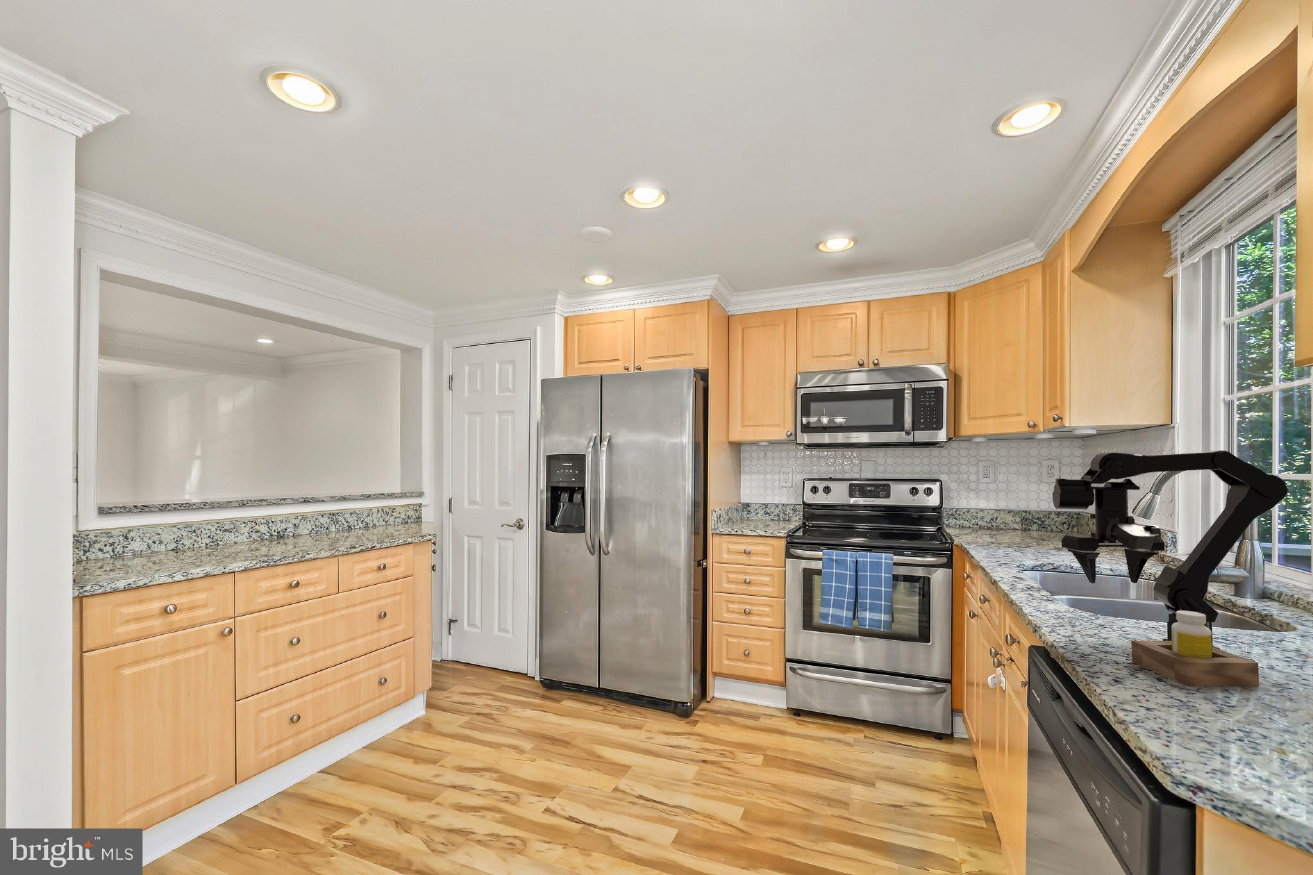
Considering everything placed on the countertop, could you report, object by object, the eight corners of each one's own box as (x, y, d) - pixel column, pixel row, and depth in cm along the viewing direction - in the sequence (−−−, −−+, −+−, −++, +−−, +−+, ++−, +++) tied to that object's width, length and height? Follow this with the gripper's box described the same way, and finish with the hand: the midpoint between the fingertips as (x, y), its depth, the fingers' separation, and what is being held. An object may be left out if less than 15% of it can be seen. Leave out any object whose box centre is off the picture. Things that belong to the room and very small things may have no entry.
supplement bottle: (1221, 674, 103) (1219, 617, 103) (1185, 672, 104) (1183, 616, 104) (1199, 663, 108) (1197, 610, 108) (1165, 661, 109) (1163, 608, 110)
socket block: (1195, 662, 112) (1194, 640, 112) (1259, 686, 100) (1258, 662, 100) (1132, 661, 112) (1131, 640, 112) (1187, 686, 100) (1187, 662, 100)
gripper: (1098, 514, 118) (1100, 591, 118) (1188, 513, 119) (1190, 591, 118) (1059, 509, 129) (1060, 580, 129) (1141, 509, 130) (1143, 579, 129)
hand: (1113, 582), depth 126 cm, fingers open, 9 cm apart
